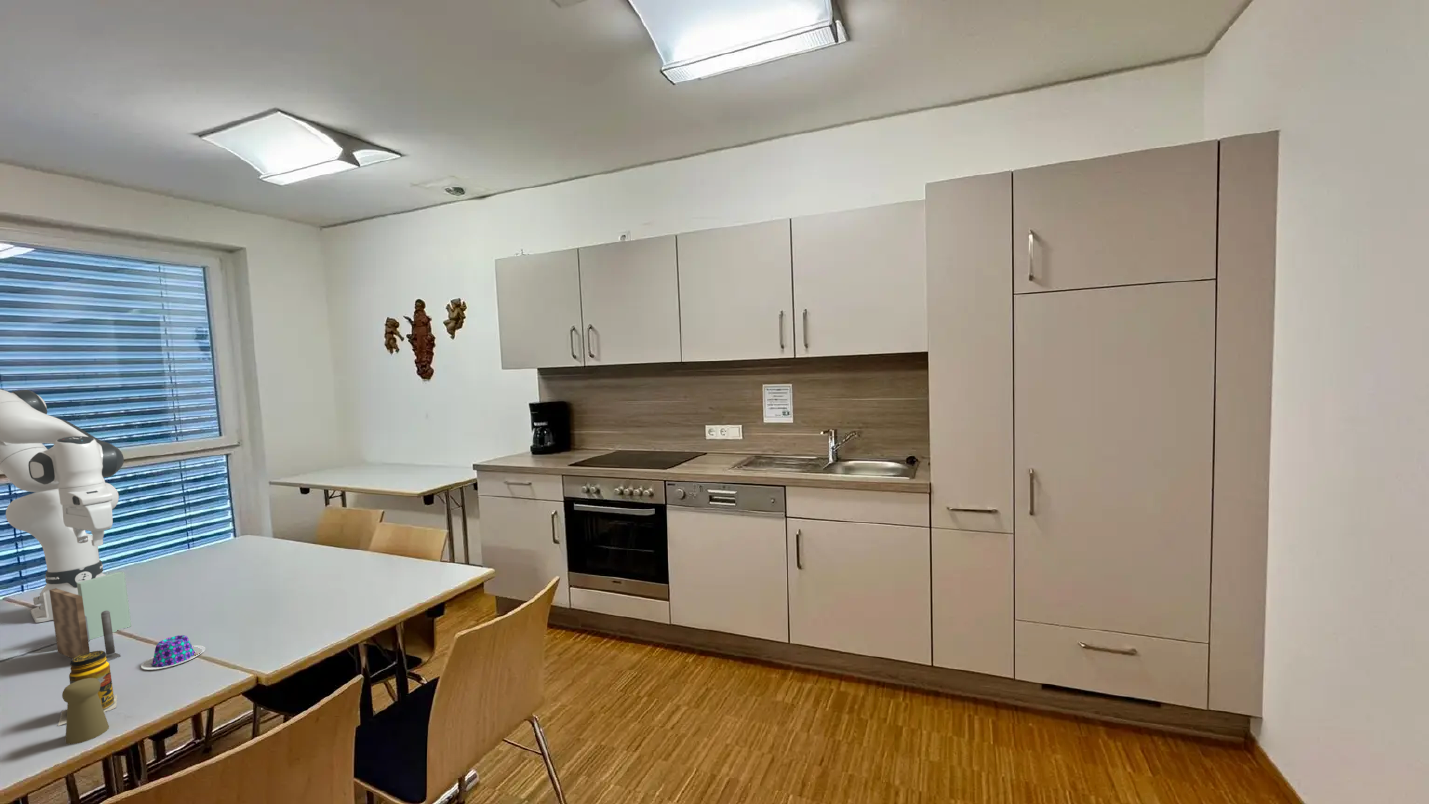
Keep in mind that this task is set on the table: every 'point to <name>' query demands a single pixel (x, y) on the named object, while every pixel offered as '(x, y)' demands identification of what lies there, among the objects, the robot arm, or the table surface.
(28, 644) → the table surface
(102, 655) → the condiment
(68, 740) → the cork
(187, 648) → the purple domed brimmed piece
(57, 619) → the cabinet side
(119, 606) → the door
